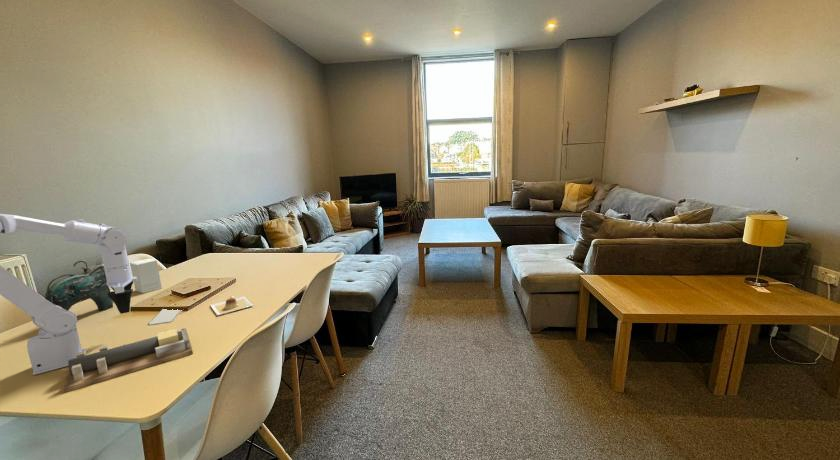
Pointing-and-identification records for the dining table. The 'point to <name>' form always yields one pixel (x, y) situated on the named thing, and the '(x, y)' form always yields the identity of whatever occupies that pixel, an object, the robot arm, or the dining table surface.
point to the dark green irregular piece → (81, 288)
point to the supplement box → (146, 275)
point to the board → (127, 363)
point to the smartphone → (165, 316)
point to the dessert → (231, 304)
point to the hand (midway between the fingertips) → (125, 308)
